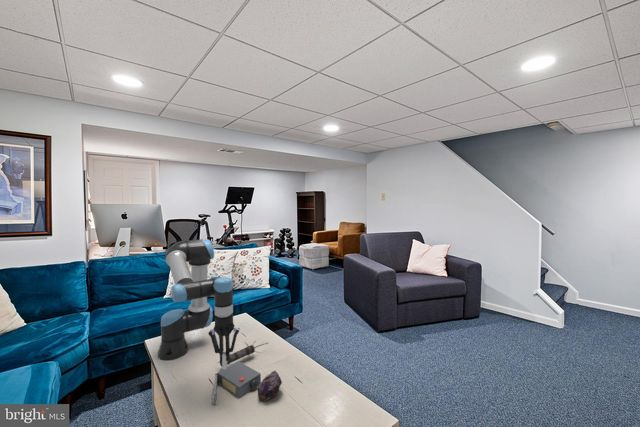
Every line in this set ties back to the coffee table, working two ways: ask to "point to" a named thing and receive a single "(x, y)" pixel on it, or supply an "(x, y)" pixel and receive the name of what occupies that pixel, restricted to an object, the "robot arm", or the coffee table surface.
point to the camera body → (239, 379)
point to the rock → (269, 386)
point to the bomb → (241, 354)
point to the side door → (215, 389)
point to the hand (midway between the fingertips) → (224, 367)
